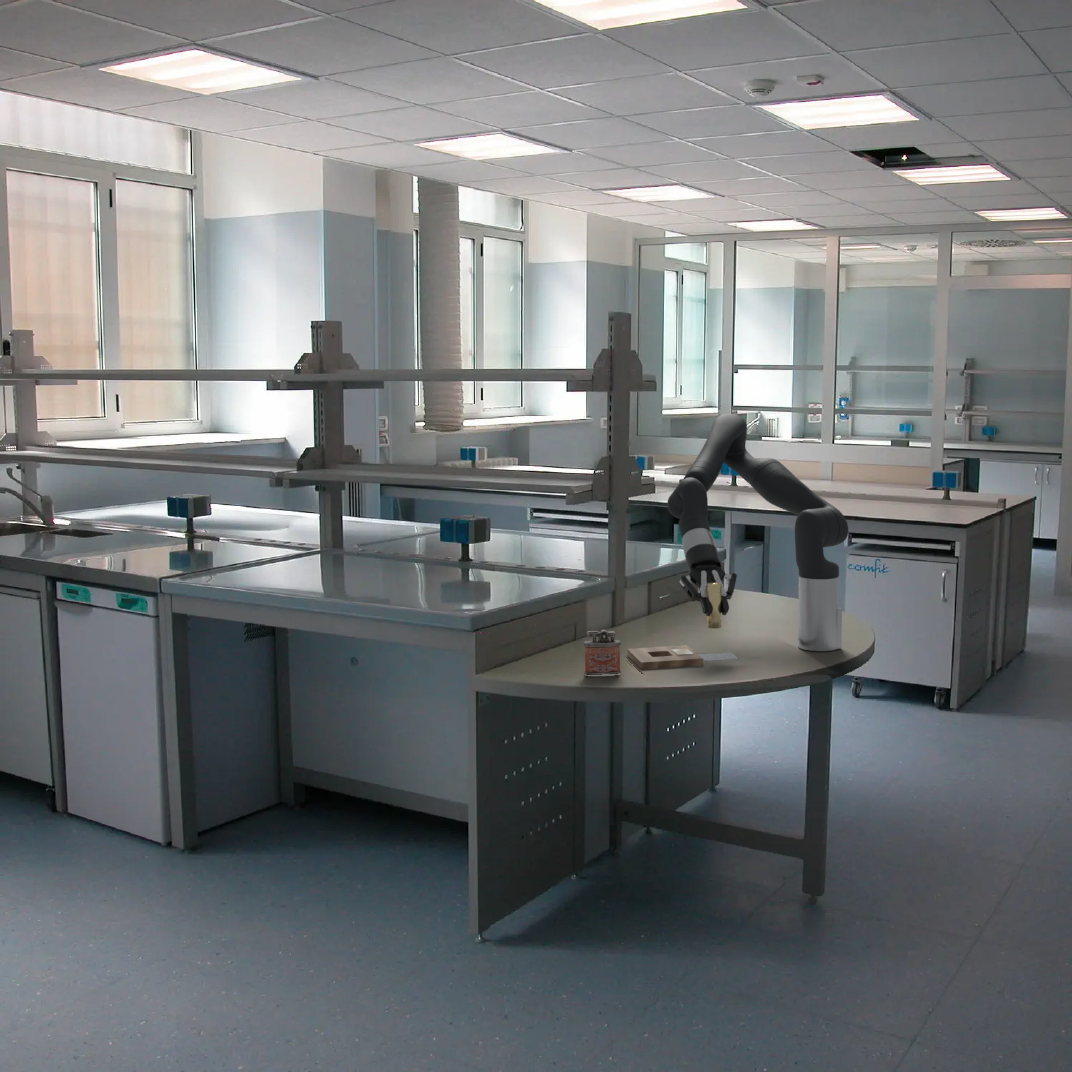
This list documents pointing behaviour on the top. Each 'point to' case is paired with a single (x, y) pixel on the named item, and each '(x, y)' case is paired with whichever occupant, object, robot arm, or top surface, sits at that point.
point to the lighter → (602, 653)
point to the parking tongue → (718, 656)
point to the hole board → (664, 657)
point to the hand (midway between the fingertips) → (716, 613)
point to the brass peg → (714, 604)
